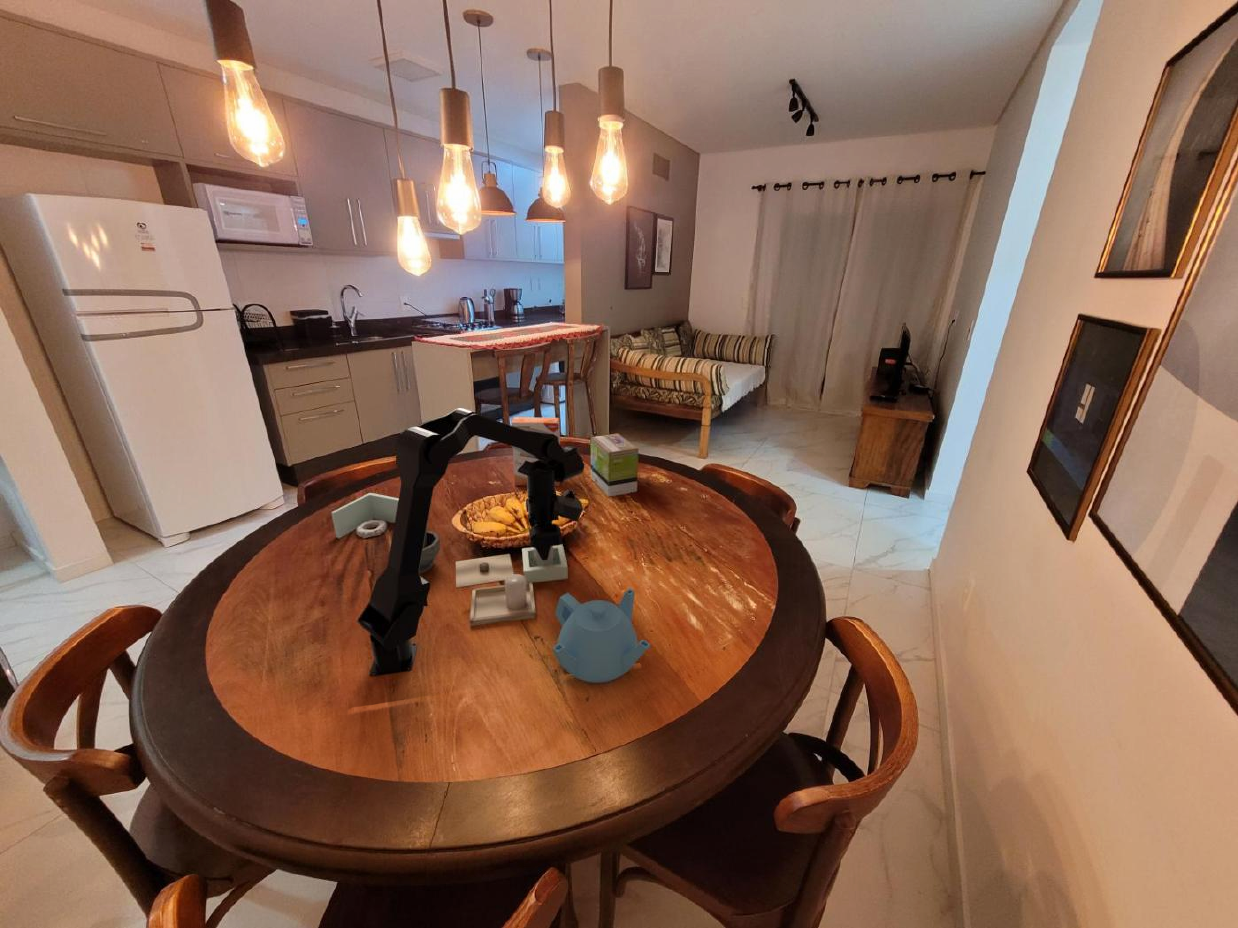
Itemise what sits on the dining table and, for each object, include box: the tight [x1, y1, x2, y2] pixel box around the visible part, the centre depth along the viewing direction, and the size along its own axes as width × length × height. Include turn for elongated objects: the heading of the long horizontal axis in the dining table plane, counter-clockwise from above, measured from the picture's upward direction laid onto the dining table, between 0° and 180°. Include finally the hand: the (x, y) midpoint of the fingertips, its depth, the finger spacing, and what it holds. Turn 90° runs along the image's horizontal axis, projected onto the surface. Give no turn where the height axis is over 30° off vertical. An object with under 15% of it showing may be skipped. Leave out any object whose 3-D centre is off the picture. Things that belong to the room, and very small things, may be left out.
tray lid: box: [455, 553, 515, 589], centre depth 105 cm, size 10×12×2 cm
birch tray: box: [469, 582, 537, 627], centre depth 95 cm, size 10×12×2 cm
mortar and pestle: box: [419, 527, 441, 575], centre depth 105 cm, size 11×9×12 cm
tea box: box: [590, 433, 639, 497], centre depth 148 cm, size 15×10×15 cm, turn 25°
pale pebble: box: [504, 573, 527, 610], centre depth 94 cm, size 4×4×6 cm
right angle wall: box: [330, 492, 399, 539], centre depth 120 cm, size 12×12×8 cm
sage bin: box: [521, 544, 569, 584], centre depth 106 cm, size 9×9×4 cm
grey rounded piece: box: [534, 546, 554, 567], centre depth 106 cm, size 4×4×6 cm
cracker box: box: [511, 416, 561, 487], centre depth 148 cm, size 14×6×21 cm, turn 93°
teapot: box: [552, 588, 652, 684], centre depth 81 cm, size 15×15×11 cm
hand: (543, 553), depth 105 cm, fingers open, 5 cm apart
